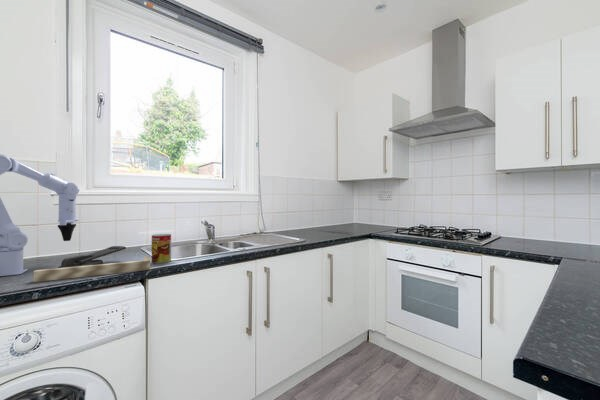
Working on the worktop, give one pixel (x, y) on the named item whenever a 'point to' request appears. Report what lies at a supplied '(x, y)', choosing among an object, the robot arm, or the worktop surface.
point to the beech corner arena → (91, 270)
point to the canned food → (161, 248)
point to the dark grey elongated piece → (89, 258)
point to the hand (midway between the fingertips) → (67, 240)
